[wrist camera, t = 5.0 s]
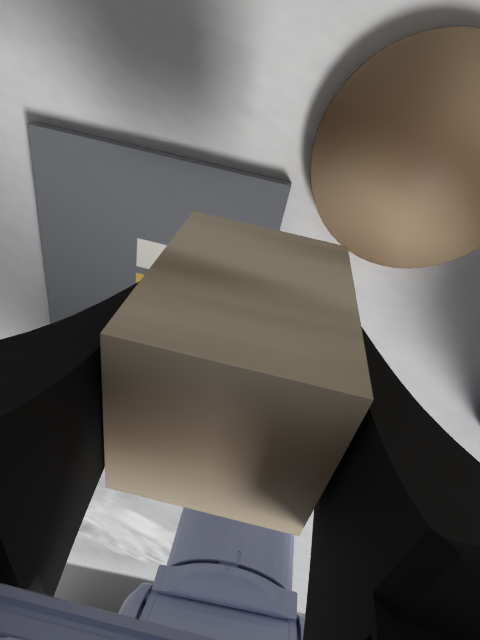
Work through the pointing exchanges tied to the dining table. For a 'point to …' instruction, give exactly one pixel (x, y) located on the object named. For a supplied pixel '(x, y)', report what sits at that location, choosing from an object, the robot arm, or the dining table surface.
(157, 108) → the dining table surface
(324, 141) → the cork coaster
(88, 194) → the tile
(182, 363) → the maple block
